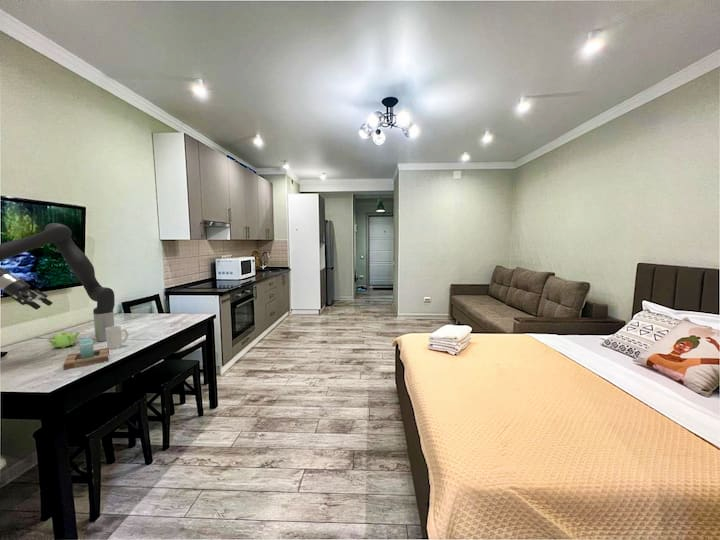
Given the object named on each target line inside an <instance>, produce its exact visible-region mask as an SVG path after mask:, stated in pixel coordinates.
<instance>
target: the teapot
mask: <svg viewBox="0 0 720 540" xmlns="http://www.w3.org/2000/svg"><path fill="white" fill-rule="evenodd" d="M79 335H80V332H78V331H76V332H75V333H74V334H73V333H71V332H67V331H64V332H61V333H59V334H54V335H52V337H53V338H54V339H51V338H49V339H48V340H47V342H49V343H50V344H52V346H53V347H55V348H56V347H59V348H61V349H66V348H65V347H68V346H70V345H73V344H75V343H76V342H77V337H78V336H79ZM73 346H74V345H73Z"/></svg>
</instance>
